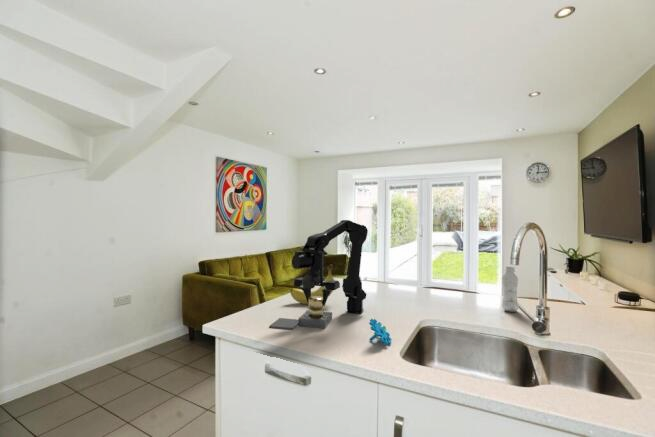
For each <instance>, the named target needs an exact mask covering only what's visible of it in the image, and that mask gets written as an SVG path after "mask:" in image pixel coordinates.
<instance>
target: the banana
mask: <svg viewBox="0 0 655 437" xmlns="http://www.w3.org/2000/svg"><path fill="white" fill-rule="evenodd" d="M333 267H334V265H333V264H332V263H331V264H329V266H328V267H327V268H326V269H327V270H328V273H327V275H326V278H325V281H323V282H328V281H330V280H335V278H334V277H333V274H332V271H333V269H334V268H333ZM323 289H324V287H323V286H319V288H317V289H316V290H313V291H312V290H311V297H313V296H321V297H323V292H322V290H323ZM333 292H334V290H331V292H330V294H329V296H328V298H329V297H330V296H331V295H332V293H333ZM290 295H291V297H292V298H293V300H294V301H296V302H298V303H300V304H303V305H309V304H308V302H307V299H306V296H305V294H304V292H303V291H302V290H301V289H299V288H291V289H290Z"/></svg>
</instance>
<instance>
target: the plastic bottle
mask: <svg viewBox="0 0 655 437" xmlns="http://www.w3.org/2000/svg"><path fill="white" fill-rule="evenodd" d="M504 271H505V273H504V274H503V275H502V277H501V280H502V287H503V288H502V289H503V290H502V291H503V295H502V296H503V297H502V303H501V307H502V309H503V310H504V311H507V312H510V313H514V312H515V313H516V312H517V311H518V310H519V302H518V296H517V295H518V292H517V291H518V284H519V278H518V276H517V274H516V273H515V272H516V268H515V267H514V266H505V270H504Z"/></svg>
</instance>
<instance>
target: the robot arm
mask: <svg viewBox="0 0 655 437" xmlns="http://www.w3.org/2000/svg"><path fill="white" fill-rule="evenodd" d="M368 230H369V229H368V228H367V227H366V225H364V224H359V223H357V222H353V221H352V220H350V219H342V220H340V222H338V223H336V224H335V225H333V226H331V227H330V228H328V229H326V230H324V231H323V232H320V233H315V234H311V235H310V236H309V237H307V239H306V242H305V244H304V246H303V247H302V249H301V250H300V251H298V250H296V251H294V255H293V256H292V259H291V265H292V267H293V269H295V270H300V269H307V273H306V275H304V277H298V278H295V279H294V280H293V282H292V283H293V287H297V288H298V290H301V291H303V292H304V294H305V296H306V299H307V302H308V304H307V305H309V297H311V291H312V289H314V288H315V287H321V286H323V287H324V289H323V290H322V292H323V306H324V307H325V305H326V303H327V301H328V298H329V297H330V296H329V294H330V292H331V290H333V291H336V290H339V288H342V291H343V293H344V296H345V297H346V298H347V301H346V312H347V313H350V314H360V315H361V314H362V313H363V312H364V307H363V306H364V302H363V301H364V300H366V299H367V298H366V297H367V293H366V292H365V290H364V289H363V285H362V284H363V283H362V280H361V277H360V271H361V261H362V260H361V259H362V251H363V244H364V243H365V241H366V240H367V237H368ZM345 232H346V233H348V239H349V241H350V243H351V246H350V255H349V265H348V275H347V276H346V278H345V277H344V278H343V279H342V286H341V284H340V281H339V280H336V279H334V280H330V281H328V282H324V281H325V279H326V278H325V277H324V271H325V270H326V269H325V267H324V256H327V255H328V252H326V250H325V248H327V246H329V244H330V242H331V241H332V240H334V239H336V238H337V237H338V236H340V235H341V234H343V233H345ZM308 268H309V269H308ZM330 295H331V294H330ZM328 296H329V297H328Z"/></svg>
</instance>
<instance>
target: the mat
mask: <svg viewBox="0 0 655 437" xmlns="http://www.w3.org/2000/svg"><path fill="white" fill-rule="evenodd" d="M268 327H269V328H272V329H280V330H292V331H293V330H295V329H296V328H297V327H299V326H298V319H296V318H295V319H294V318H284V317H283V318H282V317H279V318H278V319H276V320H275V321H274V322H273V323H271V324H270V325H269V326H268Z"/></svg>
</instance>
